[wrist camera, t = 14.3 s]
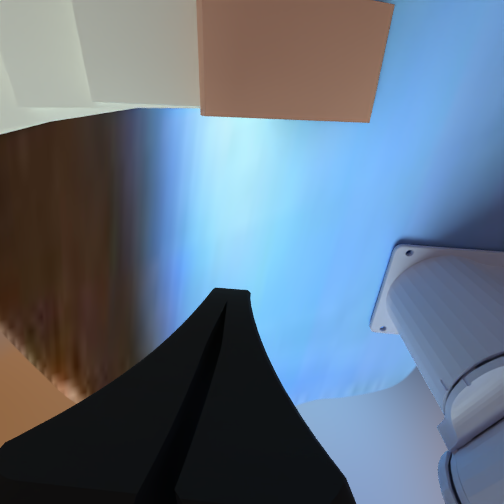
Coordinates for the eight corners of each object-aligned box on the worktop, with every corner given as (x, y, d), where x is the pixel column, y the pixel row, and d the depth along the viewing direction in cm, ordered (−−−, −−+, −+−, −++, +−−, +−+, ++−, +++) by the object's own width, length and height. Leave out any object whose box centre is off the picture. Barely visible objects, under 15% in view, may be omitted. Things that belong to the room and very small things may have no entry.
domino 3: (206, -10, 13) (-34, -48, 10) (213, 108, 15) (18, 107, 12) (199, 0, 14) (-16, -30, 11) (206, 108, 17) (29, 107, 14)
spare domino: (394, 4, 13) (200, -34, 10) (369, 122, 15) (205, 116, 12) (371, 14, 14) (195, -17, 12) (351, 121, 16) (200, 115, 14)
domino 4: (117, -13, 13) (-125, -2, 11) (150, 105, 16) (-38, 135, 13) (118, -2, 14) (-98, 9, 12) (148, 105, 17) (-24, 132, 14)
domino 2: (283, -10, 13) (59, -59, 10) (275, 109, 15) (91, 101, 12) (268, 1, 14) (66, -40, 11) (263, 109, 16) (95, 102, 13)
